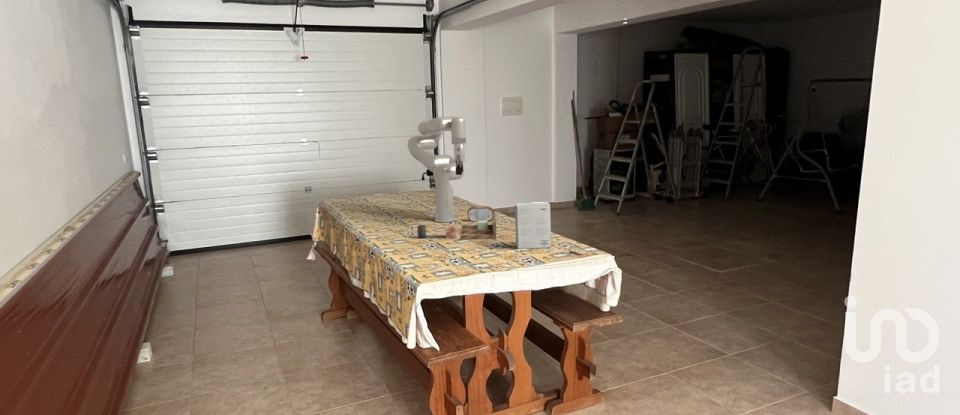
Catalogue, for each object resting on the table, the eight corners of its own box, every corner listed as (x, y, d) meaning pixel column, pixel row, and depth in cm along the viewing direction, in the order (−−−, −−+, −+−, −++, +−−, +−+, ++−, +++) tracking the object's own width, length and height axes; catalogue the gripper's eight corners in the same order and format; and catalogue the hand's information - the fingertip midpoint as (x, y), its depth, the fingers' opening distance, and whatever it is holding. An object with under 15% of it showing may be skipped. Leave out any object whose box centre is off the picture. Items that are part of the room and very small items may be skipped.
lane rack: (460, 239, 285) (459, 223, 283) (461, 228, 307) (461, 214, 306) (496, 238, 284) (495, 222, 283) (495, 228, 307) (494, 213, 305)
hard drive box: (548, 243, 273) (548, 201, 269) (551, 248, 265) (551, 204, 261) (515, 244, 272) (514, 202, 268) (516, 249, 265) (516, 205, 261)
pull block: (417, 238, 288) (416, 226, 287) (418, 236, 293) (418, 224, 292) (456, 238, 288) (455, 226, 287) (456, 235, 293) (456, 224, 292)
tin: (494, 220, 326) (494, 205, 324) (494, 221, 322) (494, 206, 321) (467, 220, 327) (467, 206, 325) (467, 222, 324) (466, 207, 322)
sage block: (477, 232, 299) (477, 222, 298) (478, 230, 304) (477, 220, 303) (487, 232, 299) (487, 222, 298) (487, 230, 304) (487, 220, 303)
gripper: (464, 142, 300) (465, 175, 303) (466, 139, 317) (467, 171, 320) (450, 142, 300) (451, 175, 304) (453, 139, 317) (453, 171, 321)
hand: (459, 173), depth 312 cm, fingers open, 9 cm apart
